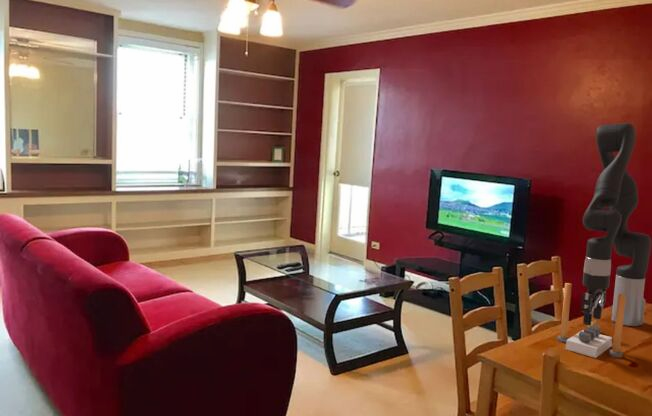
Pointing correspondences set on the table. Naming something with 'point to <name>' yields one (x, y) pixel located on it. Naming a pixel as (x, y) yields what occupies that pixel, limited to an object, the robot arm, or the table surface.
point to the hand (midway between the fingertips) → (592, 321)
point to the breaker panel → (589, 345)
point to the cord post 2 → (618, 327)
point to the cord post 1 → (565, 313)
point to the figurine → (595, 323)
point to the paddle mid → (592, 332)
